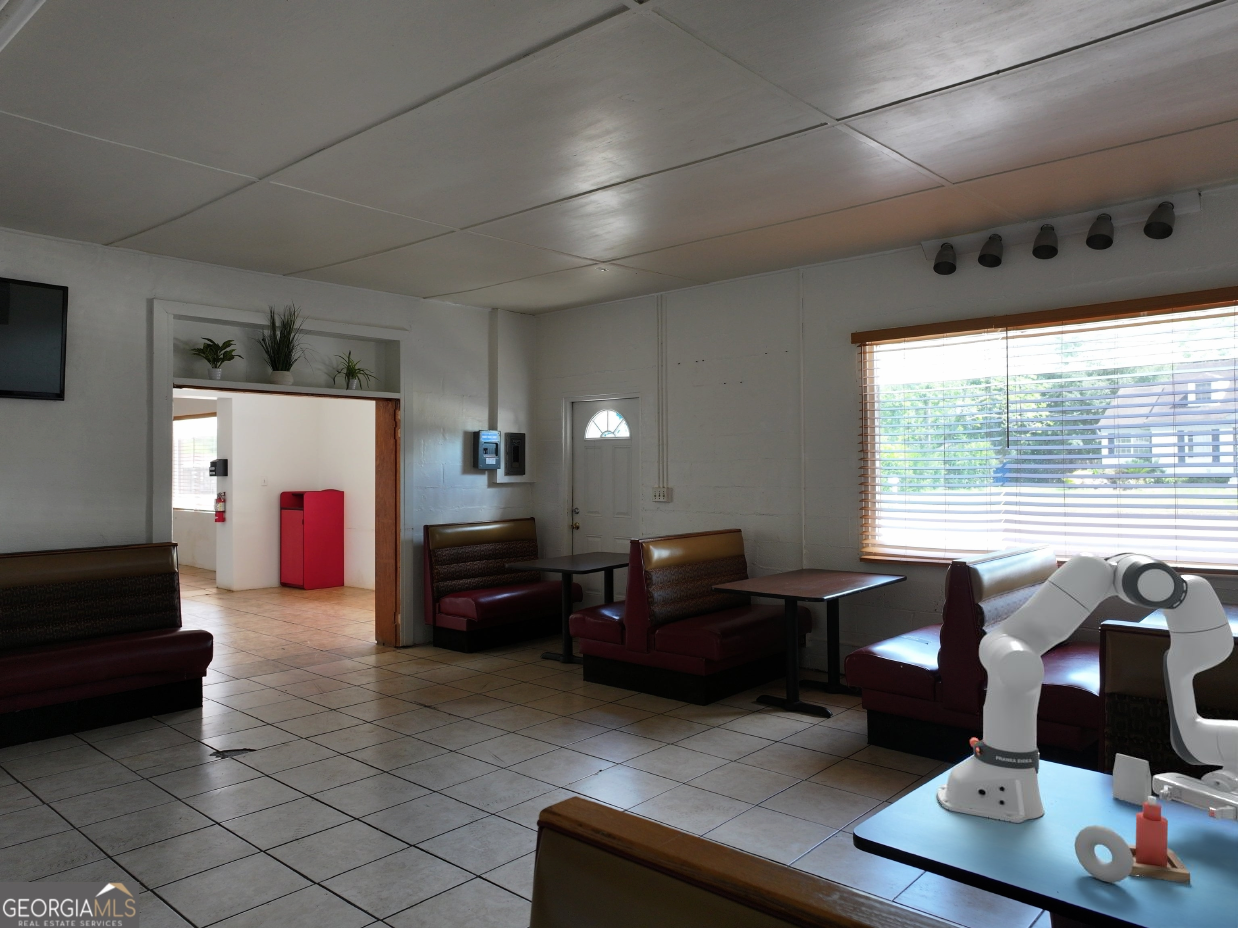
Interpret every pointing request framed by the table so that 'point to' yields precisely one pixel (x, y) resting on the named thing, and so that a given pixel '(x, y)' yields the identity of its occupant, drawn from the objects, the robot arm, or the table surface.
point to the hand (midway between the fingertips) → (1187, 804)
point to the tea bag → (1131, 779)
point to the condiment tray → (1161, 868)
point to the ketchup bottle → (1151, 835)
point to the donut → (1115, 844)
